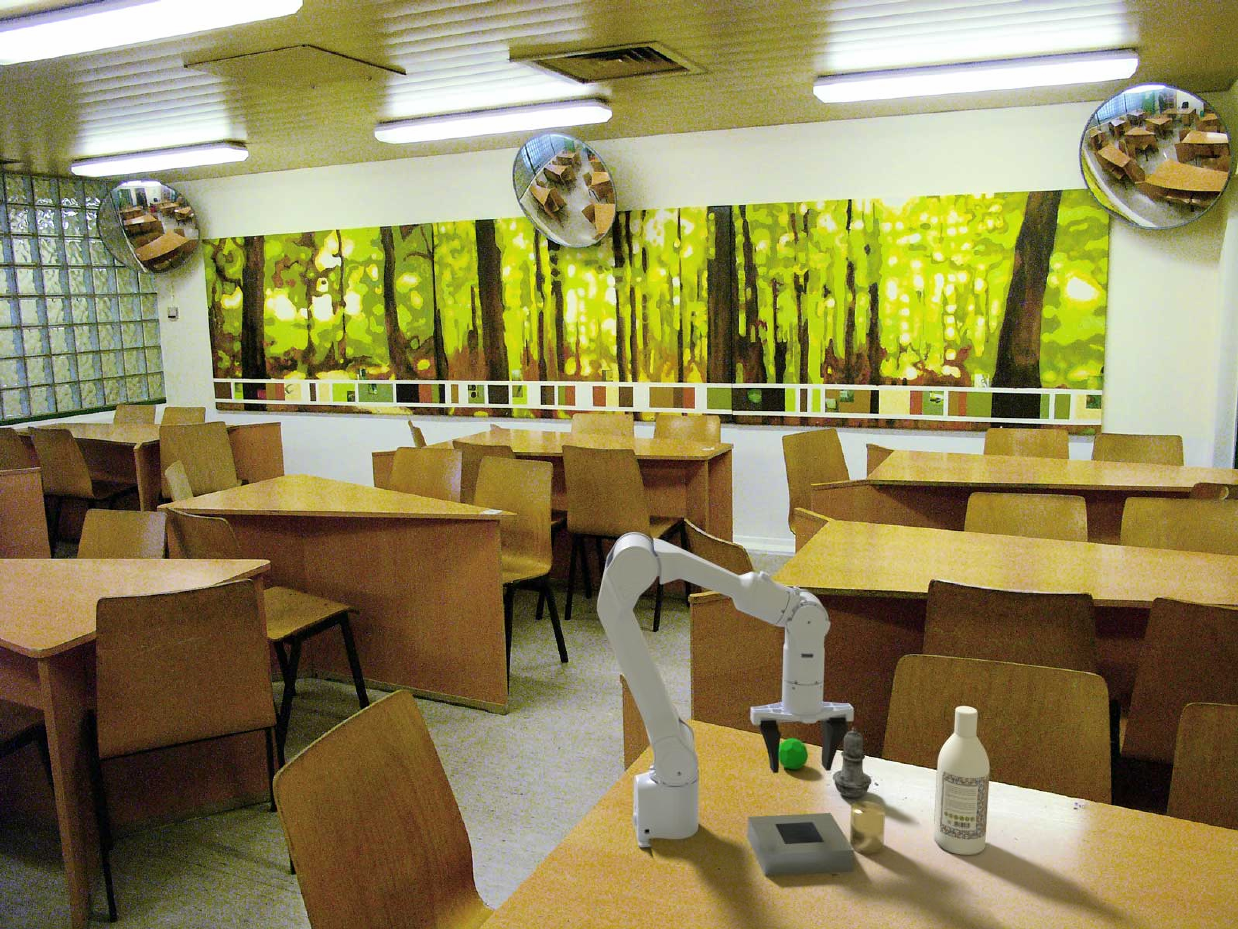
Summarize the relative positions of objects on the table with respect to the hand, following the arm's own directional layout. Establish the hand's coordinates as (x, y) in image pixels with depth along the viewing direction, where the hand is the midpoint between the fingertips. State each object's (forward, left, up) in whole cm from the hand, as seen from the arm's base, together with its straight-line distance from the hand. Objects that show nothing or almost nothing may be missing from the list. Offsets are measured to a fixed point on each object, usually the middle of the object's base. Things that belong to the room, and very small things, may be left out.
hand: (800, 768), depth 142 cm
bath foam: (+22, -5, -10) cm, 25 cm away
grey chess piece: (+11, +9, -10) cm, 17 cm away
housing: (-2, -7, -10) cm, 12 cm away
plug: (+8, -6, -10) cm, 14 cm away
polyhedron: (+5, +21, -10) cm, 24 cm away
